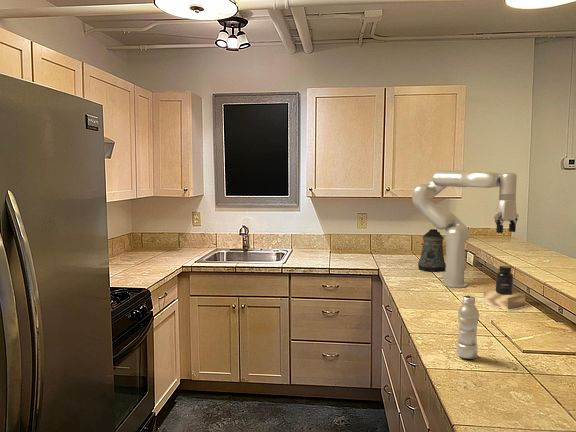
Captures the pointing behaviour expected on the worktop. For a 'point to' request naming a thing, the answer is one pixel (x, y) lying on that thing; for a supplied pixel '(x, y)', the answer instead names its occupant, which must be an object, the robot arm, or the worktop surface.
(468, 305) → the plastic bottle
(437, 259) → the dark grey bell
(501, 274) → the supplement bottle
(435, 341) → the worktop surface
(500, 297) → the oak plinth
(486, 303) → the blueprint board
